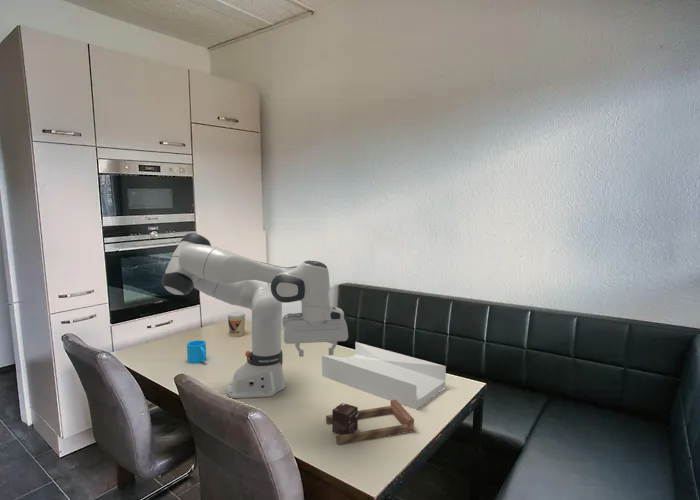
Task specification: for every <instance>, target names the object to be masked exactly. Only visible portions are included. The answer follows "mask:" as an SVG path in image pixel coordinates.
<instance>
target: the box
mask: <svg viewBox="0 0 700 500" xmlns="http://www.w3.org/2000/svg"><path fill="white" fill-rule="evenodd" d="M358 407H359V406H355V405H352V404H349V403H344V402H342V403H340V404H338V405H337V406H336V407H335V408H333V409H332V414H331V415H332V423H331V424H332V427H331V428H332V432H333V433H335V434H338V435H344V434H350V433H356V431H357V430H358V428H359V424H358V423H359V422H358V421H359V419H358V411H359V409H358Z"/></svg>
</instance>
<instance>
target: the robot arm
mask: <svg viewBox="0 0 700 500" xmlns="http://www.w3.org/2000/svg"><path fill="white" fill-rule="evenodd" d="M211 244H212V243H211V242H210V240H209V239H208V238H206V237H205V236H203V235H201V234H197V233H194V232H193V233H192V232H191V233H190V232H189V233H186V234H185V235H184V236H183V237H182V238H181V240H180V242H179V243H178V245H177V247H176V249H175V250H174V252H173V254H172V255H171V257H170V261H169V263H168V265H167V267H166V269H165V272H164V273H163V274H162V278H161V281H160V283H161V285H162V287H163V289H165V290H166V291H168V292H169V293H171V294H173V295H175V296H176V295H178V296H186V295H189V294H190V293H191V292H192V290H193V289H196V290H197V291H200V292H201V293H203V294H205V295H207V296H209V297H212V298H214V299H217V300H218V301H222V302H224V303H225V304H229V305H231V306H237V307H242V308H246V309H249V310H251V349H252V350H251V351H250V350H247V351H246V352H245V353H244V354H245V357H246V362H245V363H244V364H242V365H241V366H240V367H239V368H238V369H236V370H235V372H234V374H233V377H232V381H230V382H229V383H228V384H227V386H226V395H227V396H228V397H229V398H231V399H248V398H265V397H266V398H269V397H273V396H274V395H276V393H278V392H280V391H282V390H283V389H285V388H286V386H287V383H286V380H285V377H284V370H283V361H284V360H283V359H284V358H283V357H284V355H283V354H284V353H283V350H282V327H284V330H283V342H284V343H285V344H286V345H287V344H288V345H289V344H291V345H292V344H294V346H295V349H296V350H297V352H298V357H299V358H300V357H304V356H305V355H304V352H305V351H304V349H301V346H300V345H301V344H312V343H314V344H315V343H331V344H332V345H331V347H329V348H328V356H335V355H334V353H335V352H334V351H335V349H336V347H337V345H338V342H346V341H347V340H348V339H349V331H348V325H347V321H346V319H345V311H343V310H342V308H340V307H336V306H332V305H331V302H330V297H329V294H330V273H329V268H328V266H327V265H326V264H325V263H323V262H322V261H321V262H320V261H319V260H318V261H317V260H305V261H303V262H301V264H299V265H295V266H289V267H286V266H285V267H284V266H280V265H279V266H278V265H274V264H270V263H267V262H263V261H258V260H254V259H251V258H249V257H246V256H243V255H240V254H238V253H235V252H231V251H229V250H226V249H223V248H219V247H216V246H213V245H211ZM264 283H268V284H270V286H269V285H266V284H264ZM299 301H300V302H301V312H297V313H287V314H286V315H284V316H282V315H283V303H293V302H299Z"/></svg>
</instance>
